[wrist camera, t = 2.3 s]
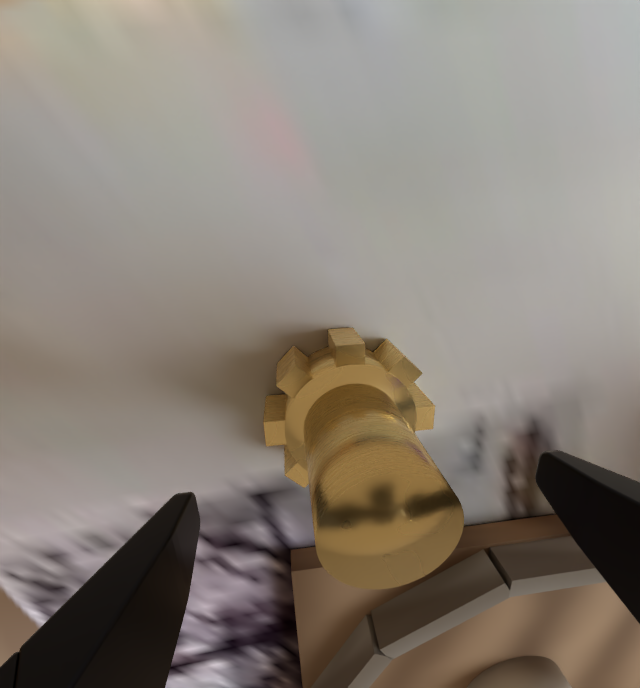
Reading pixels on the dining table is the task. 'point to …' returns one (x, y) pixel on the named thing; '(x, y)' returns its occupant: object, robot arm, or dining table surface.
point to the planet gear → (364, 461)
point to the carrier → (471, 619)
